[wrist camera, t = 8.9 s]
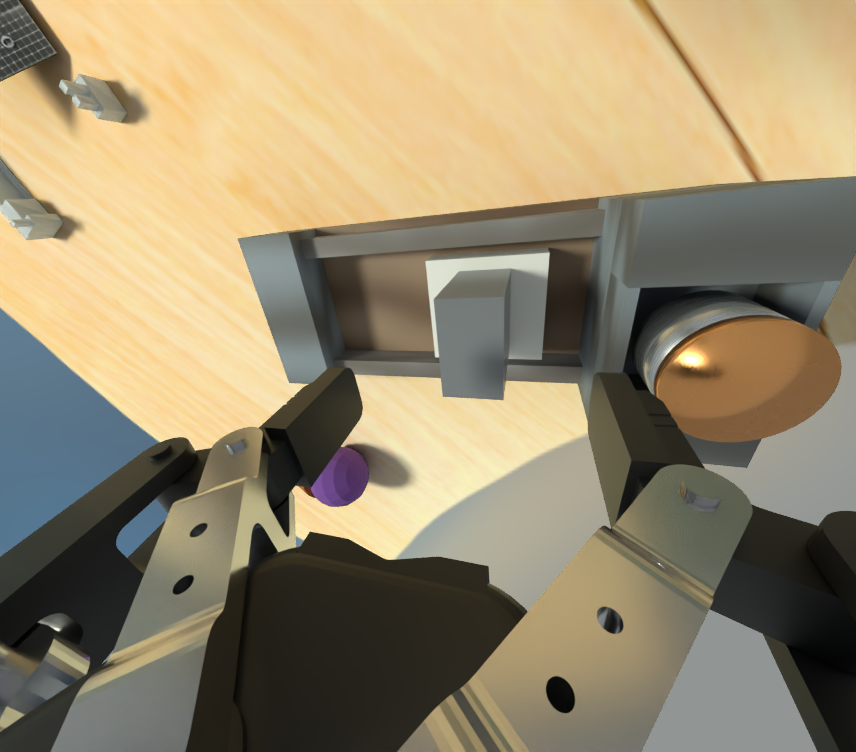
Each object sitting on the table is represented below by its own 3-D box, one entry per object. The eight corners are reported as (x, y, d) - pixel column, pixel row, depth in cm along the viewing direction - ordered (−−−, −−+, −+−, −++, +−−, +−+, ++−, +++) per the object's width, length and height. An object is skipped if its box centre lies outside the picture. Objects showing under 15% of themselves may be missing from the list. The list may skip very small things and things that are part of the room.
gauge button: (643, 292, 12) (678, 322, 10) (785, 287, 11) (876, 320, 8) (622, 387, 15) (646, 436, 12) (740, 392, 13) (800, 448, 10)
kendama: (212, 475, 38) (330, 466, 29) (255, 448, 43) (367, 434, 34) (234, 516, 39) (354, 520, 30) (273, 485, 44) (386, 481, 35)
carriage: (433, 255, 21) (388, 284, 14) (547, 247, 19) (558, 277, 12) (441, 345, 24) (407, 405, 17) (540, 347, 22) (546, 414, 15)
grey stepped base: (282, 231, 25) (164, 249, 17) (720, 184, 17) (895, 174, 9) (319, 359, 30) (243, 418, 22) (667, 368, 22) (746, 467, 14)
